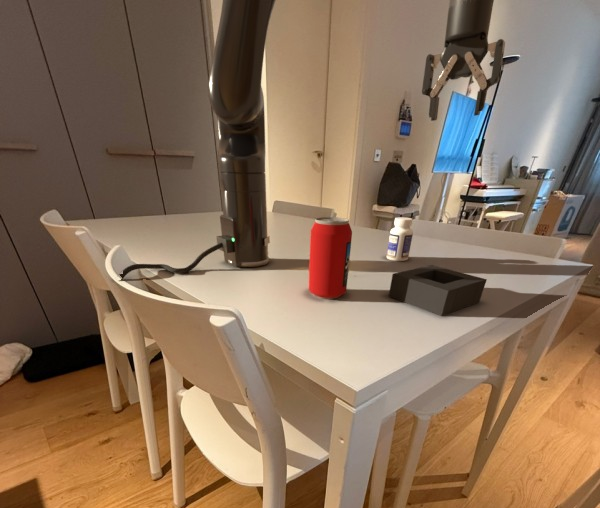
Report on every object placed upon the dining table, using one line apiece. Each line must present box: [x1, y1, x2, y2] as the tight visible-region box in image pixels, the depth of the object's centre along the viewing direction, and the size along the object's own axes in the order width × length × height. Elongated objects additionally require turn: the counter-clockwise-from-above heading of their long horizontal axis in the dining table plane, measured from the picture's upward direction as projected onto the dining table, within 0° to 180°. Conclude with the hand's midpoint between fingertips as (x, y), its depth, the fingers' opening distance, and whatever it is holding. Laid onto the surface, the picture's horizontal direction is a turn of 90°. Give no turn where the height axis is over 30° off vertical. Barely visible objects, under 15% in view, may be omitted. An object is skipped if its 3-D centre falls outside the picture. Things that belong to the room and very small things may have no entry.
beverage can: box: [308, 216, 353, 300], centre depth 57 cm, size 7×7×12 cm
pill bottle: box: [386, 216, 414, 262], centre depth 81 cm, size 5×5×9 cm
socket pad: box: [388, 264, 488, 317], centre depth 58 cm, size 11×11×4 cm
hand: (454, 117), depth 71 cm, fingers open, 8 cm apart
